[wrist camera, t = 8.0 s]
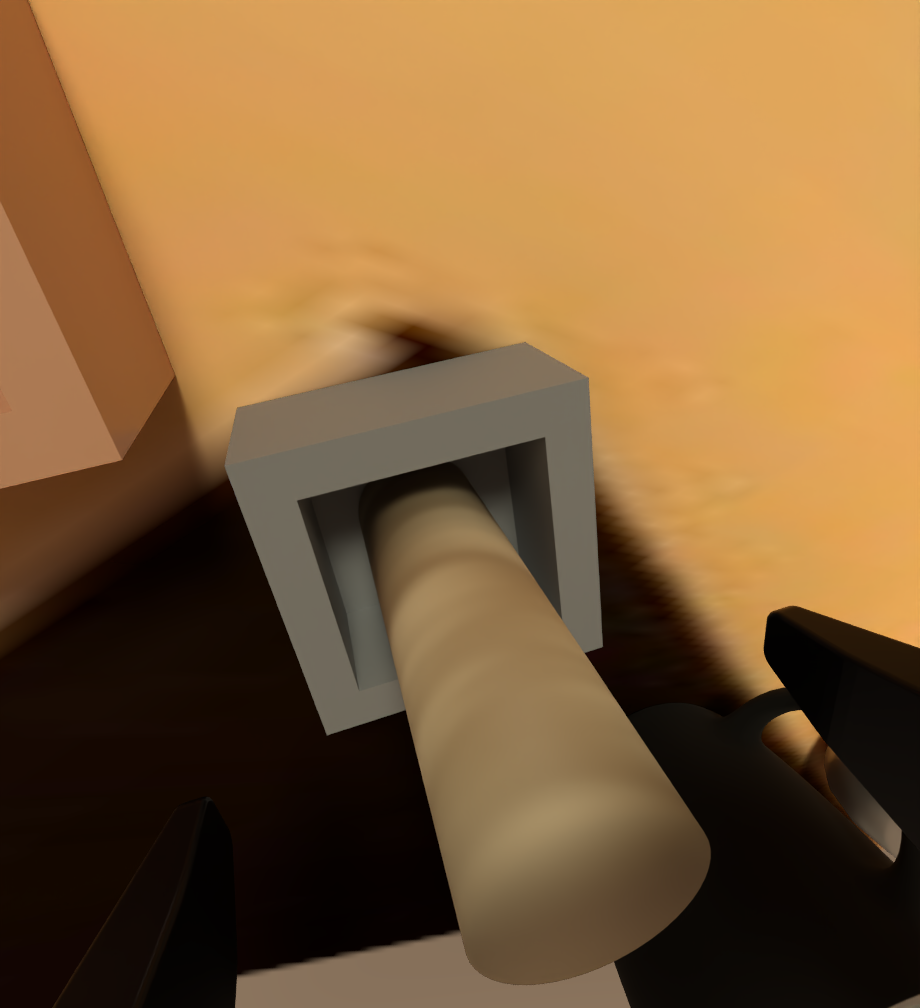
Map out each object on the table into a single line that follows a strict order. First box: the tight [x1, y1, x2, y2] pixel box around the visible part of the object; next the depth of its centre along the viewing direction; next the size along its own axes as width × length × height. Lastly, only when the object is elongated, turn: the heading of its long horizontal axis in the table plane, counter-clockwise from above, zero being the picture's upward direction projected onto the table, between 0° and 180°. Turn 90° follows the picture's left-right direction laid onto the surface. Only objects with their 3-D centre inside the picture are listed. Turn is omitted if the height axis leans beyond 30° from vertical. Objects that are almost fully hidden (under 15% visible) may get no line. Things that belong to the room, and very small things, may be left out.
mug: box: [614, 688, 920, 1008], centre depth 19 cm, size 12×9×10 cm
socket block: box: [224, 342, 603, 735], centre depth 14 cm, size 7×7×4 cm
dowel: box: [358, 461, 711, 985], centre depth 11 cm, size 3×3×10 cm
